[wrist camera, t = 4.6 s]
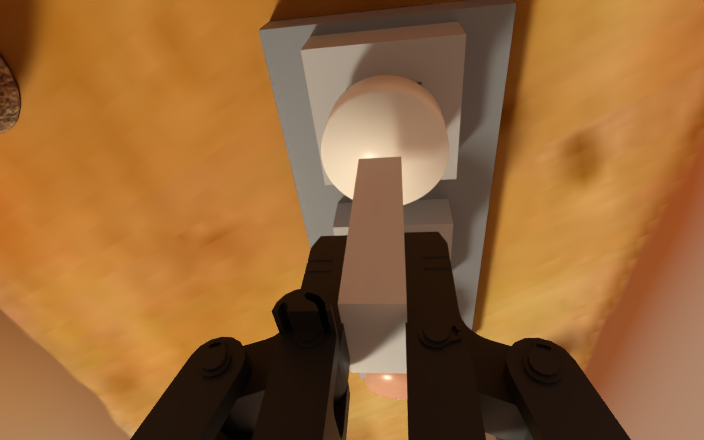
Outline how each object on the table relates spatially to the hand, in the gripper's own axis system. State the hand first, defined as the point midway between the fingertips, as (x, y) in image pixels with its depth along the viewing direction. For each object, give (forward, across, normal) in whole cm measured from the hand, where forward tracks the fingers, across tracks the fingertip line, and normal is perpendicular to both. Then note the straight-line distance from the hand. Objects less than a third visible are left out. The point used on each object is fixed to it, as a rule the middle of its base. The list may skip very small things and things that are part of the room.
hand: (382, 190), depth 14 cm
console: (+10, 0, -10) cm, 14 cm away
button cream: (+6, 0, 0) cm, 6 cm away
